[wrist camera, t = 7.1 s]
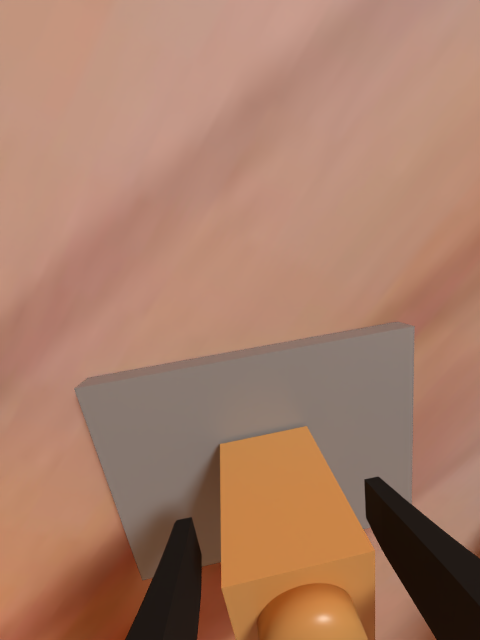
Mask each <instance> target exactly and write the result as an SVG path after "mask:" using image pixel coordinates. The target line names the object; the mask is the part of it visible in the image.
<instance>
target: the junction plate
mask: <svg viewBox="0 0 480 640" xmlns="http://www.w3.org/2000/svg"><path fill="white" fill-rule="evenodd" d="M413 384H414V326H412V325H408V324H405V323H401V322H394V323H389V324H383V325H378V326H372V327H367V328H361V329H356V330H350V331H345V332H339V333H334V334H328V335H323V336H317V337H311V338H306V339H300V340H295V341H289V342H284V343H278V344H273V345H267V346H262V347H256V348H251V349H245V350H240V351H234V352H229V353H223V354H218V355H212V356H207V357H201V358H196V359H190V360H185V361H179V362H174V363H168V364H163V365H157V366H152V367H146V368H141V369H135V370H130V371H124V372H119V373H113V374H108V375H102V376H97V377H91V378H87V379H86V380H84V381H83V382H82V383H81V384H79V385H78V386H77V387H76V388H74V390H75V392H76V395H77V398H78V401H79V404H80V406H81V409H82V412H83V415H84V418H85V420H86V423H87V426H88V429H89V432H90V435H91V437H92V440H93V443H94V446H95V449H96V451H97V454H98V457H99V460H100V463H101V465H102V468H103V471H104V474H105V477H106V480H107V482H108V485H109V488H110V491H111V494H112V496H113V499H114V502H115V505H116V508H117V510H118V513H119V516H120V519H121V522H122V524H123V527H124V530H125V533H126V536H127V539H128V541H129V544H130V547H131V550H132V553H133V555H134V558H135V561H136V564H137V567H138V569H139V572H140V575H141V578H142V580H146V579H150V578H153V577H154V574H155V572H156V569H157V567H158V565H159V562H160V560H161V557H162V555H163V552H164V550H165V547H166V544H167V542H168V539H169V537H170V534H171V531H172V528H173V526H174V523H175V522H176V520H180V519H184V518H189V517H192V520H193V523H194V527H195V531H196V535H197V539H198V542H199V546H200V550H201V554H202V566H206V565H211V564H215V563H219V562H221V503H220V444H223V443H228V442H232V441H237V440H242V439H247V438H252V437H256V436H261V435H266V434H271V433H276V432H280V431H285V430H290V429H295V428H300V427H304V426H307V427H308V429H309V431H310V433H311V435H312V436H313V438H314V440H315V442H316V444H317V446H318V447H319V449H320V451H321V453H322V455H323V457H324V458H325V460H326V462H327V464H328V466H329V468H330V469H331V471H332V473H333V475H334V477H335V479H336V480H337V482H338V484H339V486H340V488H341V490H342V491H343V493H344V495H345V497H346V499H347V501H348V502H349V504H350V506H351V508H352V510H353V511H354V513H355V515H356V517H357V519H358V521H359V522H360V524H361V526H362V528H363V529H366V528H370V525H369V523H368V521H367V519H366V509H365V486H364V479H368V478H373V477H380V478H381V479H382V480H383V481H385V482H386V483H387V484H388V485H389V486H390V487H392V488H393V489H394V490H395V491H396V492H397V493H399V494H400V495H401V496H402V497H403V498H404V499H406V500H407V501H408V502H409V503H410V504H412V446H413Z"/></svg>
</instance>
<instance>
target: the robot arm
mask: <svg viewBox="0 0 480 640" xmlns="http://www.w3.org/2000/svg"><path fill="white" fill-rule="evenodd" d="M364 486H365V509H366V519H367V521H368V523H369V525H370V527H371V529H372V531H373V533H374V535H375V537H376V539H377V541H378V543H379V545H380V547H381V549H382V550H383V552H384V554H385V556H386V557H387V559H388V561H389V562H390V564H391V566H392V567H393V569H394V570H395V572H396V574H397V575H398V577H399V579H400V580H401V582H402V584H403V585H404V587H405V589H406V590H407V592H408V593H409V595H410V597H411V598H412V600H413V602H414V603H415V605H416V607H417V608H418V610H419V611H420V613H421V615H422V616H423V618H424V620H425V621H426V623H427V624H428V626H429V628H430V629H431V631H432V633H433V634H434V636H435V638H436V639H437V640H480V559H479V558H478V557H477V556H475V555H474V554H473V553H471V552H470V551H469V550H468V549H466V548H465V547H464V546H462V545H461V544H460V543H458V542H457V541H456V540H455V539H453V538H452V537H451V536H450V535H448V534H447V533H446V532H445V531H443V530H442V529H441V528H440V527H438V526H437V525H436V524H435V523H433V522H432V521H431V520H430V519H428V518H427V517H426V516H425V515H424V514H422V513H421V512H420V511H419V510H418V509H416V508H415V507H414V506H413V505H412V504H410V503H409V502H408V501H407V500H406V499H404V498H403V497H402V496H401V495H400V494H399V493H397V492H396V491H395V490H394V489H393V488H392V487H390V486H389V485H388V484H387V483H386V482H385V481H383V480H382V479H381V478H380V477H373V478H368V479H364ZM201 573H202V554H201V550H200V546H199V542H198V539H197V535H196V531H195V527H194V523H193V520H192V517H189V518H184V519H180V520H176V522H175V523H174V526H173V528H172V531H171V534H170V537H169V539H168V542H167V544H166V547H165V550H164V552H163V555H162V557H161V560H160V562H159V565H158V567H157V569H156V572H155V574H154V577H153V579H152V581H151V584H150V586H149V588H148V590H147V593H146V595H145V597H144V600H143V602H142V604H141V607H140V609H139V611H138V613H137V615H136V617H135V620H134V622H133V624H132V626H131V628H130V630H129V632H128V635H127V637H126V639H125V640H197V633H198V622H199V611H200V600H201Z"/></svg>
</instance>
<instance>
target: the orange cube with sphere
mask: <svg viewBox="0 0 480 640" xmlns="http://www.w3.org/2000/svg"><path fill="white" fill-rule="evenodd" d="M220 503H221V589H222V592H223V596H224V599H225V603H226V606H227V610H228V614H229V617H230V621H231V624H232V628H233V631H234V635H235V639H236V640H375V550H374V548H373V546H372V544H371V543H370V541H369V539H368V537H367V535H366V533H365V532H364V530H363V528H362V526H361V524H360V522H359V521H358V519H357V517H356V515H355V513H354V511H353V510H352V508H351V506H350V504H349V502H348V501H347V499H346V497H345V495H344V493H343V491H342V490H341V488H340V486H339V484H338V482H337V480H336V479H335V477H334V475H333V473H332V471H331V469H330V468H329V466H328V464H327V462H326V460H325V458H324V457H323V455H322V453H321V451H320V449H319V447H318V446H317V444H316V442H315V440H314V438H313V436H312V435H311V433H310V431H309V429H308V427H307V426H304V427H300V428H295V429H290V430H285V431H280V432H276V433H271V434H266V435H261V436H256V437H252V438H247V439H242V440H237V441H232V442H228V443H223V444H220Z"/></svg>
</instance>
